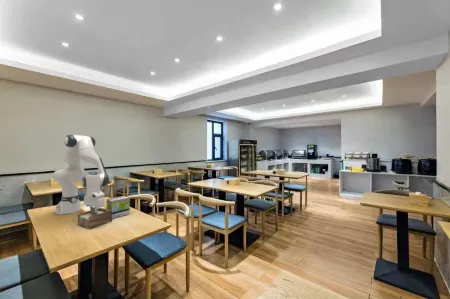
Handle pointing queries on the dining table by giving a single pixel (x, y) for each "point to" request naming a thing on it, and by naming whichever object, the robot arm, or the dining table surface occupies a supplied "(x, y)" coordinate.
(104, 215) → the caddy
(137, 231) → the dining table surface
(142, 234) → the dining table surface
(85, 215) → the lid
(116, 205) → the tea box
